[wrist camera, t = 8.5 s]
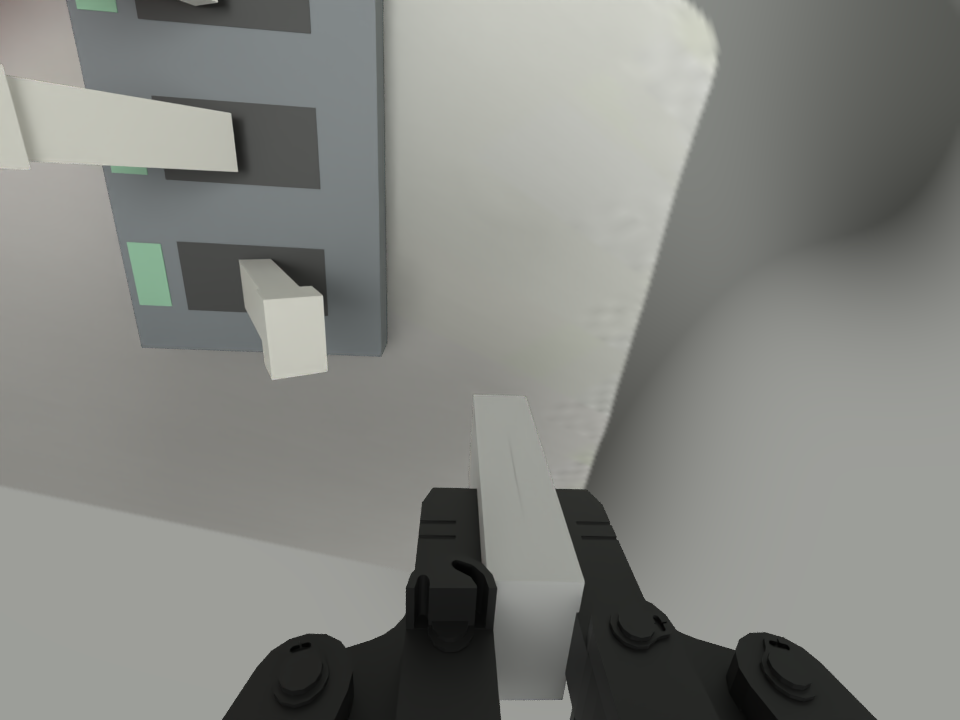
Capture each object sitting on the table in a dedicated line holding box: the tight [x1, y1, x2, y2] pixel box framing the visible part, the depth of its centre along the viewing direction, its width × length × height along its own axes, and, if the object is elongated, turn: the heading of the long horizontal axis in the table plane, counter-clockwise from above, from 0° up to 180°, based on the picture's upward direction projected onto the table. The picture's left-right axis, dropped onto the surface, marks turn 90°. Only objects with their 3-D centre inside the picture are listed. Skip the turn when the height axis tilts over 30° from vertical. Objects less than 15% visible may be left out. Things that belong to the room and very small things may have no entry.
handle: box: [0, 64, 238, 172], centre depth 21 cm, size 2×4×12 cm
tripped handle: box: [239, 259, 328, 380], centre depth 25 cm, size 2×4×12 cm, turn 177°
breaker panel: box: [66, 0, 387, 357], centre depth 28 cm, size 16×26×3 cm, turn 176°
